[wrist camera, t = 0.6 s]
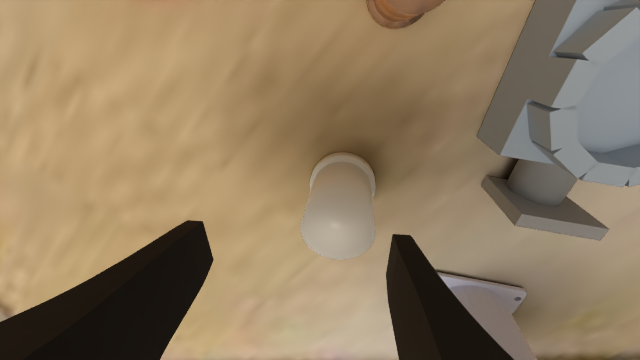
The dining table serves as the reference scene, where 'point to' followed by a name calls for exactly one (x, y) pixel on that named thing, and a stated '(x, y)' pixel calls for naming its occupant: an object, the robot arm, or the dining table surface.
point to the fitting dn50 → (340, 207)
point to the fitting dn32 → (399, 11)
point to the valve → (567, 112)
